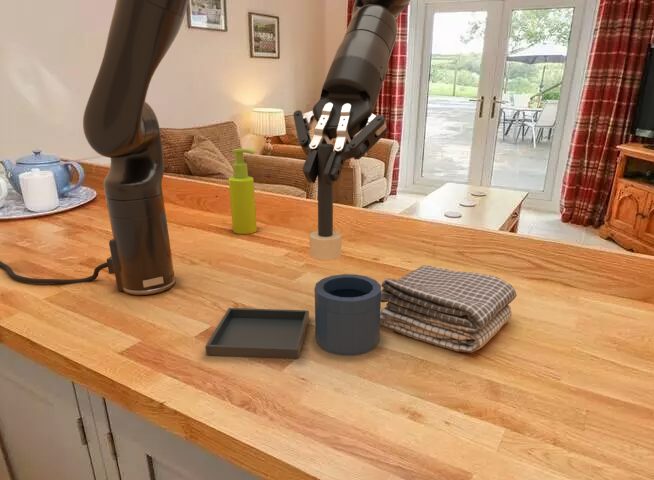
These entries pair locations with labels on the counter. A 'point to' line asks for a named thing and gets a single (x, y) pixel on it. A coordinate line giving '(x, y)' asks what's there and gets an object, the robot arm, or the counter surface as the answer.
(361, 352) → the dark gray pen holder
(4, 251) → the counter surface
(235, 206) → the soap dispenser
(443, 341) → the towel
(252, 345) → the tray
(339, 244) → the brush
